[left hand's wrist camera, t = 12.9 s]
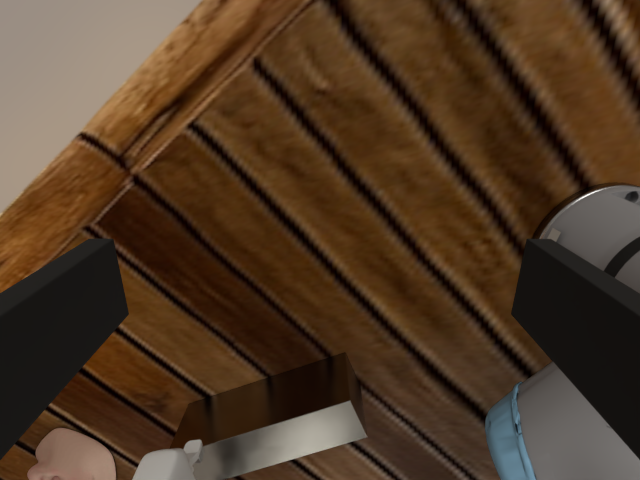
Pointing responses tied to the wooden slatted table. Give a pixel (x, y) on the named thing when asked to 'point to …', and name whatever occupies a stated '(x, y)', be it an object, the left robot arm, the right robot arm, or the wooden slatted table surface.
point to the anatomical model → (72, 458)
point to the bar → (275, 419)
